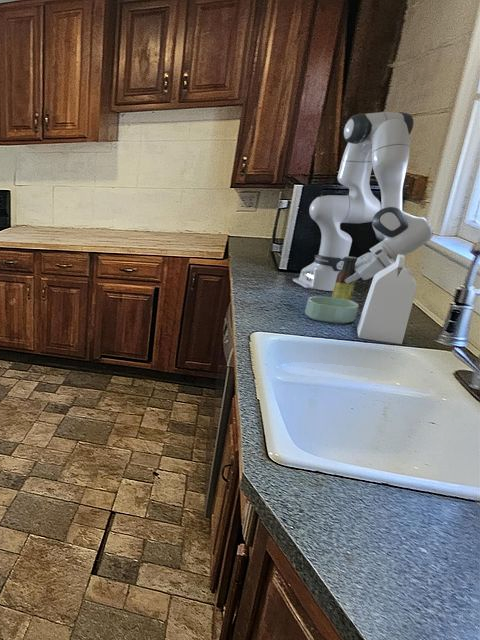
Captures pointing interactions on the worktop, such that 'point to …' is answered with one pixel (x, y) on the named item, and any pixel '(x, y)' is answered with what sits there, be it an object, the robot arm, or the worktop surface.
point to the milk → (388, 304)
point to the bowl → (331, 309)
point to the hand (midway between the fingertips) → (343, 279)
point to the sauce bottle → (341, 286)
